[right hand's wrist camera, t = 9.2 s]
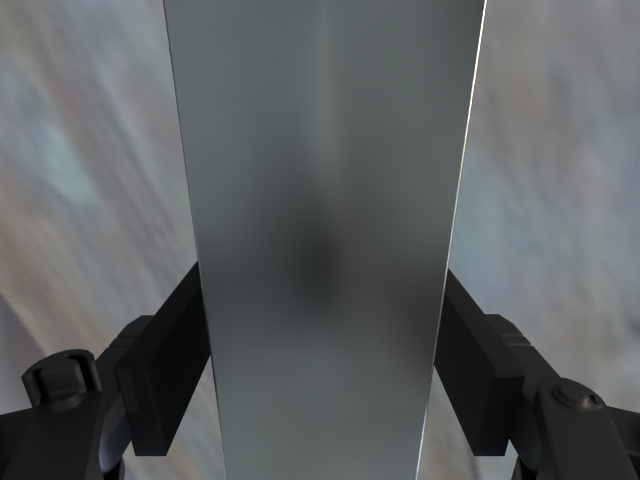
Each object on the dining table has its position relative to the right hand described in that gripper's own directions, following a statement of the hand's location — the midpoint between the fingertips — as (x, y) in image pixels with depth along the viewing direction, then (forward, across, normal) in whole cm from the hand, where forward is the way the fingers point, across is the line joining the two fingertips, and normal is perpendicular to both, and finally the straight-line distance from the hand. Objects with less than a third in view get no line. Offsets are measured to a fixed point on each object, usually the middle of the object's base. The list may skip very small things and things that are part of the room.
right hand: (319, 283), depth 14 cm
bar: (+1, 0, -8) cm, 9 cm away
